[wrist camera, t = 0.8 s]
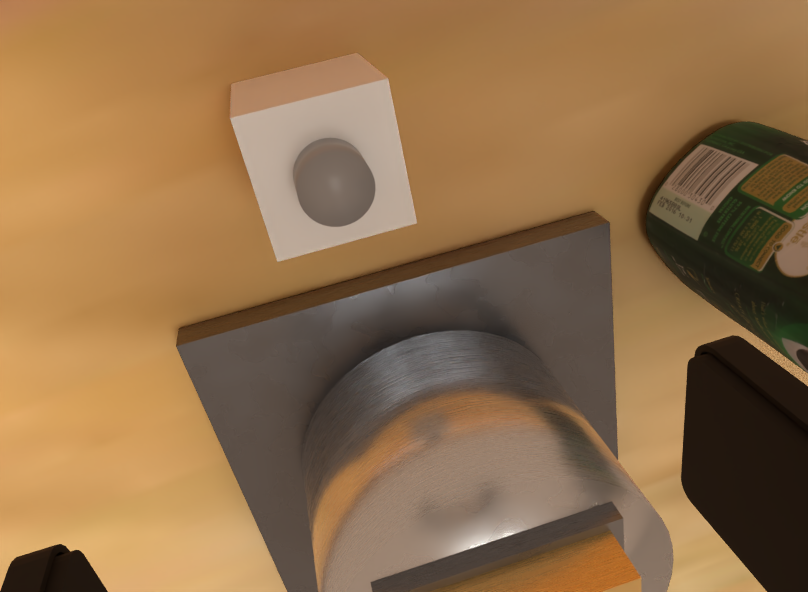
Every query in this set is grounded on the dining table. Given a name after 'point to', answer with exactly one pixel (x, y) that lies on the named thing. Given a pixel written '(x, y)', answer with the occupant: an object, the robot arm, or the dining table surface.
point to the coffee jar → (741, 230)
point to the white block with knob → (323, 154)
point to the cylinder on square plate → (438, 424)
